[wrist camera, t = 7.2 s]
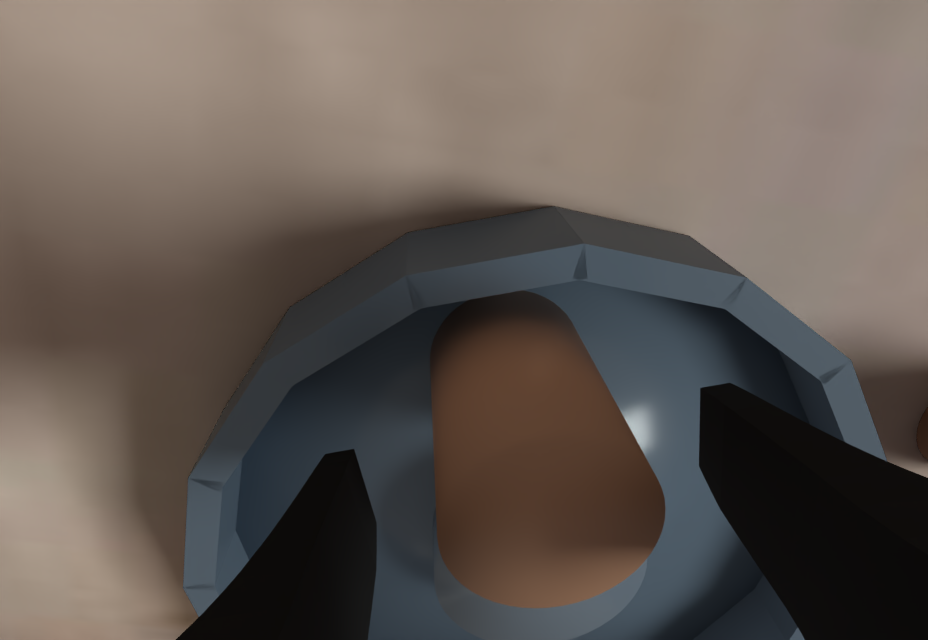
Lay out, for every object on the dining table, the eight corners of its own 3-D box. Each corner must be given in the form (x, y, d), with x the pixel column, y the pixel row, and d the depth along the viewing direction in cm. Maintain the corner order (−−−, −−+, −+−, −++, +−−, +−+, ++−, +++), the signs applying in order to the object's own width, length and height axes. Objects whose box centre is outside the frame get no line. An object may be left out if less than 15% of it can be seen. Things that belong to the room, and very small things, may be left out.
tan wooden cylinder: (584, 407, 16) (666, 587, 11) (444, 432, 16) (458, 623, 11) (573, 276, 15) (664, 415, 9) (416, 304, 15) (416, 459, 9)
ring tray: (787, 637, 23) (836, 716, 20) (316, 719, 23) (303, 809, 21) (850, 153, 15) (946, 178, 12) (114, 285, 15) (47, 339, 12)
